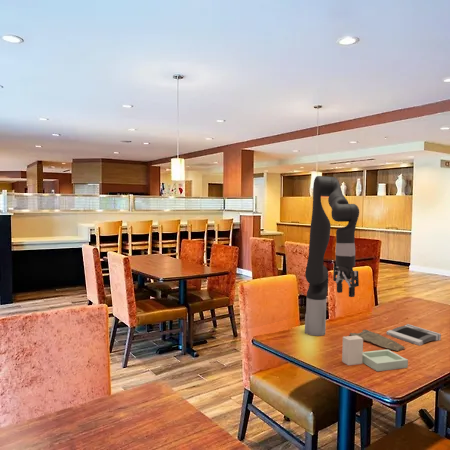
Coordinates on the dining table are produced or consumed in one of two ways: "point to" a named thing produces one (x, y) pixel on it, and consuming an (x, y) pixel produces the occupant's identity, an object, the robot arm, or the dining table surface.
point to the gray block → (352, 350)
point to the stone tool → (379, 340)
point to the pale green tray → (384, 360)
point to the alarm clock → (414, 334)
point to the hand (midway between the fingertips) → (345, 294)
